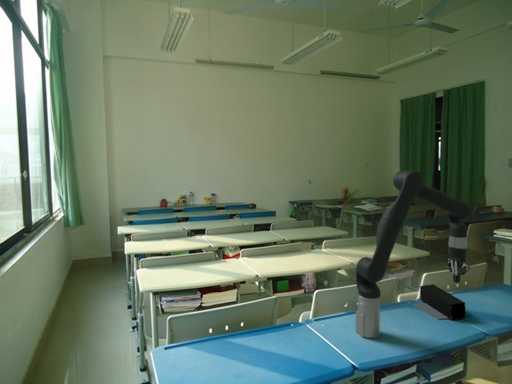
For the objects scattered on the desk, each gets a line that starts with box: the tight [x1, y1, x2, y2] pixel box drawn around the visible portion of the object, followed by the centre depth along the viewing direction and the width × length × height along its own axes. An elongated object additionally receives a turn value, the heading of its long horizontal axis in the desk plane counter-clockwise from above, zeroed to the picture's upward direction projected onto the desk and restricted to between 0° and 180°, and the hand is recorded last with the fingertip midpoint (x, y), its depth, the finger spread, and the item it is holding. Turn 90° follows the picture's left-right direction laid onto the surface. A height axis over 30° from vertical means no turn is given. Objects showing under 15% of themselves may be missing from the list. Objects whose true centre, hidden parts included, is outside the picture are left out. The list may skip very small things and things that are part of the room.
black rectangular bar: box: [419, 284, 467, 321], centre depth 177 cm, size 8×8×28 cm
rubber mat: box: [413, 302, 453, 321], centre depth 175 cm, size 12×18×1 cm, turn 12°
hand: (456, 282), depth 161 cm, fingers closed
